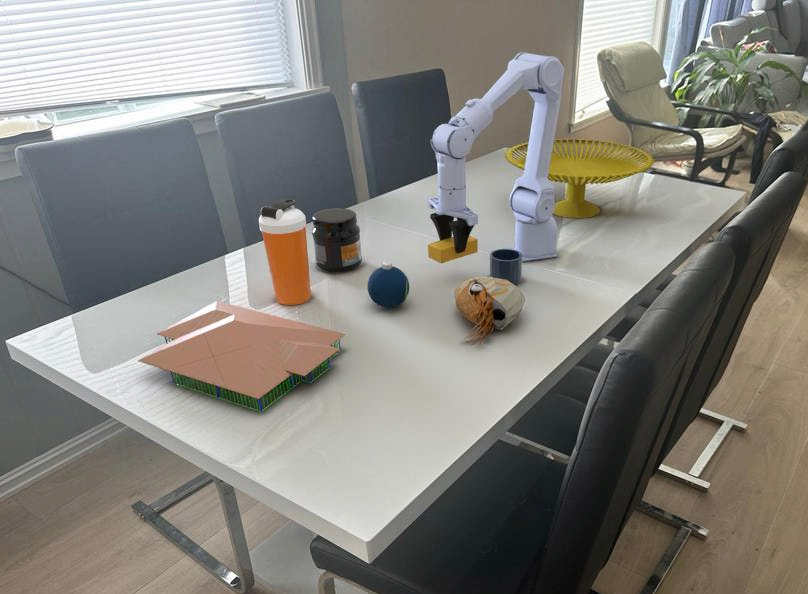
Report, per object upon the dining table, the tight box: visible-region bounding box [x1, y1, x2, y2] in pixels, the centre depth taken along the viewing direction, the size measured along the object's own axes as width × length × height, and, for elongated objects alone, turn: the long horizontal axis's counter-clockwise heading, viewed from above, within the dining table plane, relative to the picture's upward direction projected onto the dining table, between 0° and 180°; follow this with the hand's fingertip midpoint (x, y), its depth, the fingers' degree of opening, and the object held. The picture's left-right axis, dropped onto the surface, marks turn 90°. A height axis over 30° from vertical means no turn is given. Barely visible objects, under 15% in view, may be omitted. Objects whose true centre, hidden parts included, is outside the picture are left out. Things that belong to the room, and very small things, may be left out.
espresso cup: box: [488, 248, 523, 286], centre depth 150 cm, size 7×7×6 cm
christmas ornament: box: [366, 260, 410, 309], centre depth 138 cm, size 8×8×10 cm
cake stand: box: [504, 138, 655, 219], centre depth 189 cm, size 40×40×15 cm
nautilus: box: [453, 276, 526, 347], centre depth 132 cm, size 8×22×15 cm
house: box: [137, 300, 346, 413], centre depth 119 cm, size 23×33×8 cm
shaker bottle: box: [258, 198, 312, 306], centre depth 138 cm, size 9×9×20 cm
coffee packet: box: [427, 235, 479, 264], centre depth 148 cm, size 10×4×3 cm, turn 130°
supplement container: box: [311, 207, 363, 274], centre depth 155 cm, size 10×10×12 cm
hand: (453, 248), depth 148 cm, fingers closed on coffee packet, 4 cm apart
